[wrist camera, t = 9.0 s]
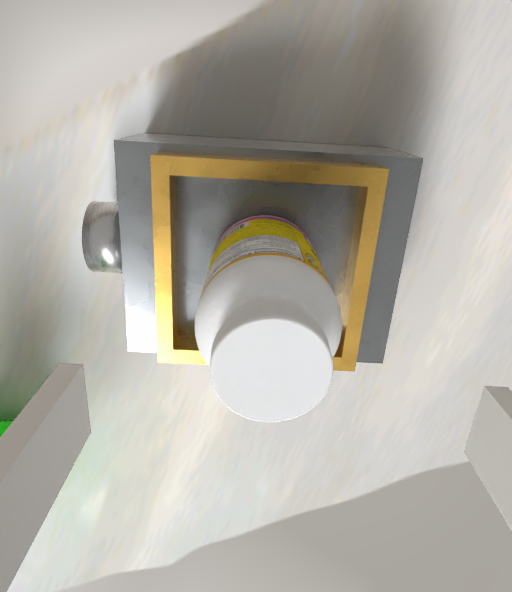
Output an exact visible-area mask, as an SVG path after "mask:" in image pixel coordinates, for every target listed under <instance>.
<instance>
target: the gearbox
mask: <svg viewBox="0 0 512 592" xmlns="http://www.w3.org/2000/svg"><path fill="white" fill-rule="evenodd" d="M114 150H115V165H116V180H117V195H118V203H114V202H96V201H93V202H91V203H90V204H89V206H88V207H87V210H86V212H85V216H84V220H83V228H82V246H83V253H84V258H85V261H86V264H87V266H88V268H89V269H90V270H91V271H93V272H112V273H123V284H124V299H125V314H126V329H127V344H128V352H149V353H158V362H163V363H185V364H206V362H205V361H204V359H203V357H202V356H201V354H200V351H199V349H198V346H197V342H196V337H195V316H196V312H197V307H198V303H199V300H200V297H201V293H202V290H203V286H204V283H205V279H206V276H207V272H208V268H209V265H210V261H211V258H212V254H213V252H214V249H215V247H216V244H217V242H218V241H219V239H220V238H221V236H222V235H223V234H224V233H225V232H226V231H227V230H228V229H229V228H230V227H231V226H233V225H234V224H235V223H237V222H239V221H241V220H243V219H246V218H249V217H252V216H260V215H270V216H276V217H280V218H283V219H286V220H288V221H290V222H291V223H293V224H295V225H296V226H297V227H298V228H300V229H301V230H302V231H303V232H304V233H305V235H306V236H307V237H308V239H309V240H310V242H311V244H312V246H313V248H314V250H315V252H316V254H317V256H318V259H319V261H320V263H321V265H322V267H323V270H324V272H325V274H326V277H327V279H328V281H329V283H330V285H331V287H332V290H333V292H334V294H335V296H336V299H337V301H338V304H339V307H340V311H341V317H342V333H341V339H340V343H339V346H338V349H337V351H336V353H335V355H334V357H333V365H334V370H338V371H355V367H356V362H365V363H383V359H384V354H385V349H386V343H387V338H388V333H389V328H390V323H391V318H392V313H393V308H394V303H395V298H396V293H397V288H398V283H399V278H400V273H401V268H402V263H403V258H404V253H405V248H406V243H407V238H408V233H409V228H410V223H411V218H412V213H413V208H414V203H415V198H416V193H417V188H418V183H419V177H420V172H421V167H422V162H423V158H420V157H417V156H413V155H410V154H406V153H403V152H400V151H396V150H393V149H389V148H386V147H371V146H354V145H338V144H321V143H304V142H288V141H271V140H254V139H237V138H221V137H204V136H187V135H171V134H154V133H143V134H139V135H134V136H130V137H125V138H121V139H116V140H114Z"/></svg>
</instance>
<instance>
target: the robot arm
mask: <svg viewBox="0 0 512 592" xmlns="http://www.w3.org/2000/svg"><path fill="white" fill-rule="evenodd" d="M90 433H91V429H90V420H89V411H88V403H87V394H86V385H85V377H84V368H83V364H68V363H59V364H58V365H57V367H56V368H55V369H54V370H53V372H52V373H51V374H50V375H49V377H48V378H47V379H46V380H45V382H44V383H43V384H42V385H41V387H40V388H39V389H38V391H37V392H36V393H35V394H34V396H33V397H32V398H31V399H30V401H29V402H28V403H27V404H26V406H25V407H24V408H23V409H22V411H21V412H20V413H19V414H18V416H17V417H16V418H15V419H14V421H13V422H12V423H11V424H10V426H9V427H8V428H7V430H6V431H5V432H4V433H3V435H2V436H1V437H0V592H7V590H8V588H9V586H10V584H11V582H12V581H13V579H14V577H15V575H16V573H17V571H18V569H19V567H20V565H21V563H22V562H23V560H24V558H25V556H26V554H27V552H28V550H29V548H30V546H31V545H32V543H33V541H34V539H35V537H36V535H37V533H38V531H39V529H40V527H41V526H42V524H43V522H44V520H45V518H46V516H47V514H48V512H49V510H50V509H51V507H52V505H53V503H54V501H55V499H56V497H57V495H58V493H59V491H60V490H61V488H62V486H63V484H64V482H65V480H66V478H67V476H68V474H69V472H70V471H71V469H72V467H73V465H74V463H75V461H76V459H77V457H78V455H79V454H80V452H81V450H82V448H83V446H84V444H85V442H86V440H87V438H88V436H89V435H90ZM464 452H465V454H466V456H467V457H468V459H469V461H470V462H471V464H472V466H473V467H474V469H475V471H476V472H477V474H478V476H479V477H480V479H481V481H482V483H483V484H484V486H485V487H486V489H487V491H488V493H489V494H490V496H491V498H492V499H493V501H494V503H495V504H496V506H497V508H498V510H499V511H500V513H501V514H502V516H503V518H504V520H505V521H506V523H507V525H508V526H509V528H510V530H511V531H512V392H511V390H510V389H509V388H508V387H493V386H484V389H483V393H482V396H481V399H480V402H479V405H478V408H477V412H476V415H475V418H474V421H473V424H472V428H471V431H470V434H469V437H468V440H467V444H466V447H465V450H464Z"/></svg>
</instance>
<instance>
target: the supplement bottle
mask: <svg viewBox="0 0 512 592" xmlns="http://www.w3.org/2000/svg"><path fill="white" fill-rule="evenodd" d="M341 333H342V317H341V311H340V307H339V304H338V301H337V299H336V296H335V294H334V292H333V290H332V287H331V285H330V283H329V281H328V279H327V277H326V274H325V272H324V270H323V267H322V265H321V263H320V261H319V259H318V256H317V254H316V252H315V250H314V248H313V246H312V244H311V242H310V240H309V239H308V237H307V236H306V235H305V233H304V232H303V231H302V230H301V229H300V228H298V227H297V226H296V225H295V224H293V223H291V222H290V221H288V220H286V219H283V218H280V217H276V216H270V215H260V216H252V217H249V218H246V219H243V220H241V221H239V222H237V223H235V224H234V225H233V226H231V227H230V228H229V229H228V230H227V231H226V232H225V233H224V234H223V235H222V236H221V238H220V239H219V241H218V242H217V244H216V247H215V249H214V252H213V254H212V258H211V261H210V265H209V268H208V272H207V276H206V279H205V283H204V286H203V290H202V293H201V297H200V300H199V303H198V307H197V312H196V316H195V337H196V342H197V346H198V349H199V351H200V354H201V356H202V357H203V359H204V361H205V362H206V364H207V365H208V367H209V368H210V379H211V383H212V386H213V389H214V390H215V392H216V394H217V396H218V398H219V399H220V400H221V401H222V402H223V404H224V405H226V406H227V407H228V408H229V409H230V410H232V411H233V412H234V413H236V414H238V415H240V416H242V417H244V418H247V419H250V420H253V421H259V422H281V421H286V420H290V419H293V418H296V417H299V416H301V415H303V414H305V413H307V412H308V411H309V410H311V409H312V408H314V407H315V406H316V405H317V404H318V403H319V402H320V401H321V400H322V399H323V397H324V396H325V394H326V393H327V391H328V389H329V387H330V385H331V382H332V378H333V371H334V365H333V357H334V355H335V353H336V351H337V349H338V346H339V343H340V339H341Z"/></svg>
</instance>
